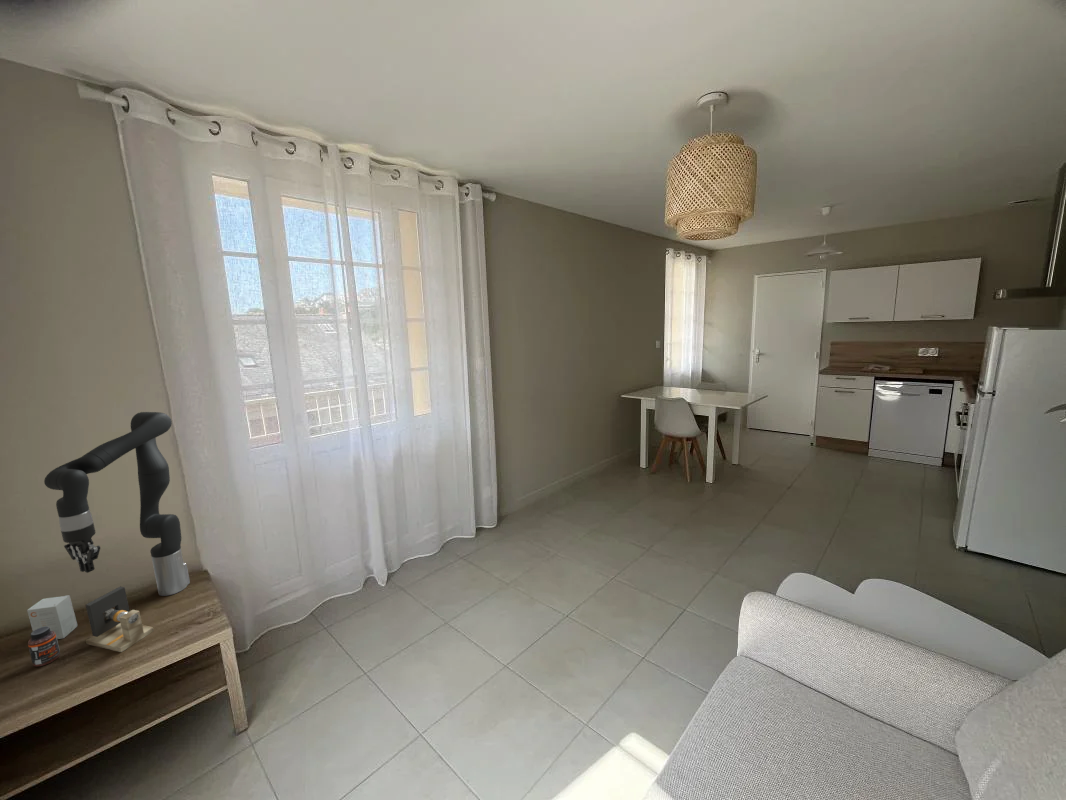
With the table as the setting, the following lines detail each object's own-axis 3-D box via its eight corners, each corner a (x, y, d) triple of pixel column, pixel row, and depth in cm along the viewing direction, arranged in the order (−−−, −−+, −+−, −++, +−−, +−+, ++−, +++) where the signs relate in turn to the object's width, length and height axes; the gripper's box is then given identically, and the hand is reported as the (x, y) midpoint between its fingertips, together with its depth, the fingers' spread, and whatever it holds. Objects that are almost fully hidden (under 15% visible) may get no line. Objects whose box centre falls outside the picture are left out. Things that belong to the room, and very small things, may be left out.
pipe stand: (120, 623, 152) (114, 597, 150) (153, 630, 149) (148, 604, 147) (86, 644, 143) (80, 616, 141) (121, 652, 139) (115, 624, 137)
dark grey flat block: (126, 615, 151) (120, 586, 148) (130, 616, 150) (124, 587, 148) (92, 636, 141) (85, 604, 139) (97, 636, 141) (89, 605, 138)
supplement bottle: (41, 669, 133) (33, 638, 130) (28, 666, 134) (19, 635, 132) (65, 654, 138) (58, 625, 136) (52, 651, 139) (45, 622, 137)
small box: (78, 626, 151) (70, 594, 149) (63, 638, 145) (55, 606, 143) (50, 629, 149) (42, 598, 147) (34, 643, 143) (26, 610, 141)
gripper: (105, 522, 142) (115, 567, 145) (76, 517, 145) (86, 562, 148) (77, 532, 135) (88, 580, 138) (47, 528, 137) (59, 574, 141)
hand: (87, 570), depth 143 cm, fingers closed
